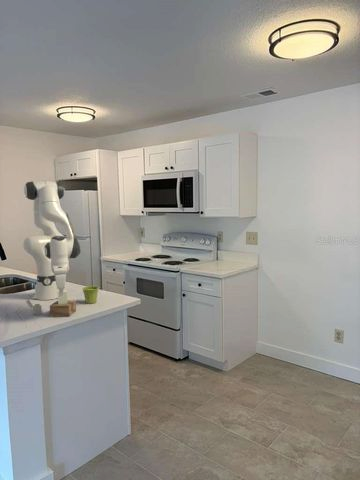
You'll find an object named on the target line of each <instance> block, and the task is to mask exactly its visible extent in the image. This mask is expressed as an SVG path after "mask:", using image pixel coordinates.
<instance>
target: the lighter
mask: <svg viewBox="0 0 360 480" xmlns="http://www.w3.org/2000/svg"><path fill="white" fill-rule="evenodd" d="M25 303H26V304H27V305H28V307H29V309H31V308H32V316H35V315H42V313H43V311H42V305H41V304H40V303H35V304H34V305H33V303H32V302H31V301H30V299H27V300H26V301H25Z"/></svg>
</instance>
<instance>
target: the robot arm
mask: <svg viewBox="0 0 360 480" xmlns="http://www.w3.org/2000/svg"><path fill="white" fill-rule="evenodd" d="M24 185H25V186H24V188H23V193H24V195H25V198H27V199H28V200H31V201H33V220H34V221H33V223H34V225H35V227H36V228H38V229H40V230H42V231H43V234H36V235H30V236H28V237H26V238H25V239H24V241H23V243H22V244H23V245H22V246H23V249H24V251H25V252H26V253H27V254H29V255H30V256H31V257H32V258H33V259H34V261H35V264H36V270H37V271H36V272H37V273H36V284H35V285H34V295H32V296H31V299H32V300H38V301H40V300H41V301H50V300H54V299H58V291H59V295H60V296H63V290H65V287H66V278H67V274H68V271H70V260H69V259H76V258H77V257H79V255H80V254H81V246H80V243H79V241H78V239H77V236H76V234H75V230H74V228H73V223H72V221H71V219H70V217H69V214H68V213H67V212H65V211H64V210H63V209H62V206H61V202H60V199H62V198H63V197H64V194H65V186H64V184H63V183H62V182H61V181H52V180H38V181H28V182H26V183H25V184H24ZM55 224H58V225H60V226H61V227H62V228H63V230H64V233H65V235H66V237H65V236H64V235H63V233H61V232H59V231H58V229H57V226H56V225H55Z"/></svg>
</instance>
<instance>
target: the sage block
mask: <svg viewBox="0 0 360 480" xmlns="http://www.w3.org/2000/svg"><path fill="white" fill-rule="evenodd" d="M67 300H68V290H67V289H63V296H60V295H59V291H58V298H57V301H58V304H67Z"/></svg>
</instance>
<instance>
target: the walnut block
mask: <svg viewBox="0 0 360 480" xmlns="http://www.w3.org/2000/svg"><path fill="white" fill-rule="evenodd" d="M76 312H77V301H76V300H73V299H72V300H68V299H67V304H58V300H56V301H55V302H53V303H52V304H50V305H49V315H50V318H52V317H53V318H63V317H64V318H70V317H71V316H72V315H74V314H75V313H76Z"/></svg>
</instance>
